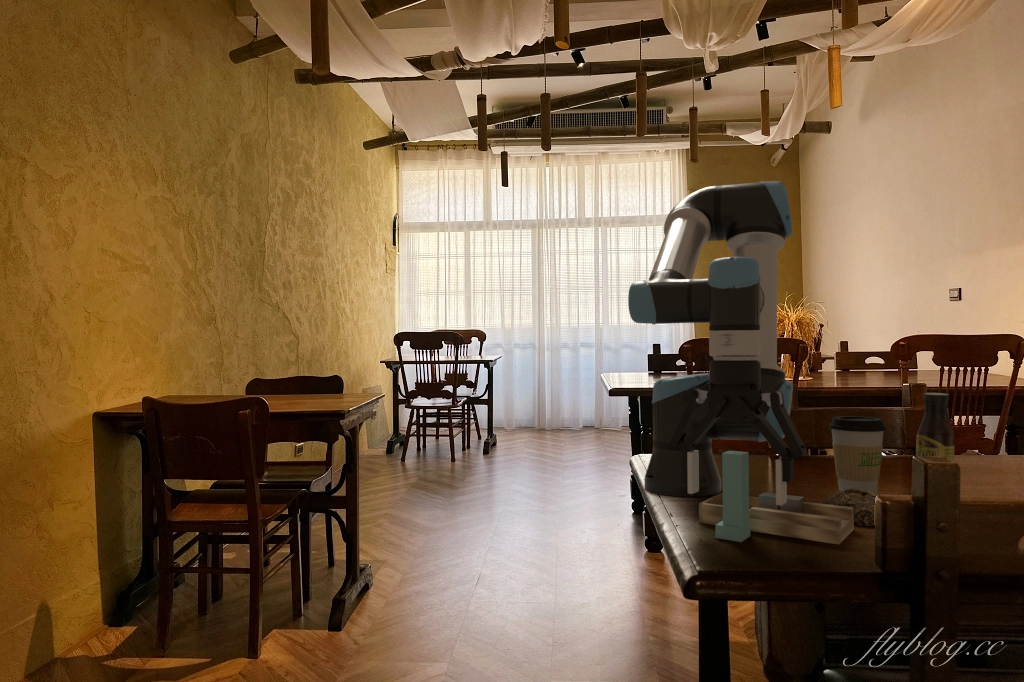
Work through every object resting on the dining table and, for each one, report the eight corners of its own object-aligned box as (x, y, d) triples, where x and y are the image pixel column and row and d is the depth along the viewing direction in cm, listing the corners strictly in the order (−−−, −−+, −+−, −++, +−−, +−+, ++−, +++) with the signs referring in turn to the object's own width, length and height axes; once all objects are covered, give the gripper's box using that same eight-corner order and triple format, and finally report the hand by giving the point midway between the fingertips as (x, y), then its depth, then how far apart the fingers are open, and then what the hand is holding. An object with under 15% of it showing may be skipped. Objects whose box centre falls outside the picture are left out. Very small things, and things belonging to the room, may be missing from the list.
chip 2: (779, 516, 112) (779, 497, 112) (785, 513, 114) (785, 494, 114) (799, 519, 110) (799, 500, 110) (804, 515, 112) (804, 496, 112)
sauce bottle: (908, 494, 136) (907, 392, 136) (938, 493, 136) (937, 391, 136) (931, 502, 129) (930, 394, 129) (963, 501, 130) (962, 394, 130)
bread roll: (913, 520, 118) (912, 491, 118) (870, 531, 111) (870, 500, 111) (842, 506, 128) (842, 479, 128) (799, 515, 122) (799, 486, 122)
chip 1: (758, 513, 114) (758, 495, 114) (764, 510, 116) (764, 492, 116) (777, 516, 112) (777, 497, 112) (783, 512, 114) (783, 494, 114)
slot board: (853, 529, 111) (853, 507, 111) (838, 544, 103) (838, 520, 103) (721, 510, 124) (721, 491, 124) (699, 522, 116) (698, 501, 116)
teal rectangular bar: (750, 536, 108) (749, 451, 108) (741, 542, 105) (740, 455, 105) (724, 532, 110) (724, 449, 110) (715, 537, 107) (714, 452, 107)
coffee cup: (894, 503, 129) (893, 421, 129) (836, 501, 131) (836, 421, 131) (877, 492, 138) (876, 416, 138) (824, 490, 140) (823, 415, 140)
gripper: (649, 358, 112) (650, 491, 112) (814, 359, 97) (815, 513, 97) (669, 358, 118) (670, 484, 118) (827, 358, 103) (828, 503, 103)
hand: (735, 497), depth 107 cm, fingers open, 13 cm apart
